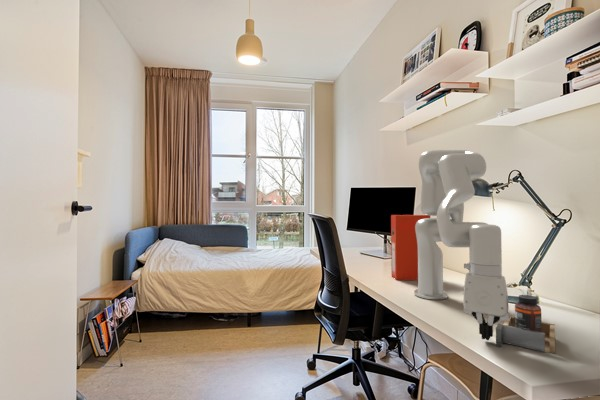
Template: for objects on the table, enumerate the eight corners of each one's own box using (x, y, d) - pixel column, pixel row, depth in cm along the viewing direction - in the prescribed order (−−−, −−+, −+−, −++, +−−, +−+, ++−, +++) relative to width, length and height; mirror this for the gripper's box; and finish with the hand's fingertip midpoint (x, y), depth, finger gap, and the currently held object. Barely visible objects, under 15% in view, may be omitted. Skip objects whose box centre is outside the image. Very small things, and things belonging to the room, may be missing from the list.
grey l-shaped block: (498, 340, 85) (498, 323, 85) (544, 350, 79) (544, 333, 79) (495, 345, 82) (495, 328, 82) (544, 357, 76) (544, 338, 76)
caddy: (507, 329, 93) (507, 315, 93) (554, 338, 86) (554, 324, 86) (502, 341, 85) (502, 326, 85) (554, 353, 78) (554, 337, 78)
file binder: (391, 276, 162) (391, 214, 163) (424, 276, 162) (424, 214, 163) (396, 280, 154) (395, 215, 155) (431, 280, 154) (430, 215, 155)
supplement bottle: (543, 337, 86) (542, 296, 86) (541, 344, 82) (540, 301, 82) (516, 331, 90) (516, 292, 90) (513, 338, 86) (513, 296, 86)
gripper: (451, 268, 87) (452, 335, 86) (517, 276, 77) (518, 351, 77) (458, 264, 92) (459, 327, 92) (520, 271, 83) (521, 341, 83)
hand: (486, 337), depth 84 cm, fingers closed
